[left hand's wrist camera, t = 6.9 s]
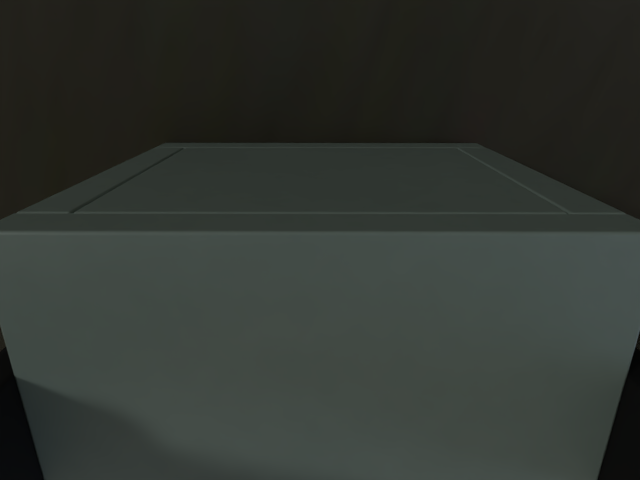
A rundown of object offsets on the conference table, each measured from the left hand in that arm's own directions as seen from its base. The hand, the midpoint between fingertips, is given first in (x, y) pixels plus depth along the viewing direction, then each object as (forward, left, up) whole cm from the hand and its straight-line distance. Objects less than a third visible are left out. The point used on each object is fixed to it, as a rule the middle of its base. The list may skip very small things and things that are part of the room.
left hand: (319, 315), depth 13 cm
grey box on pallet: (+2, +4, -5) cm, 7 cm away
